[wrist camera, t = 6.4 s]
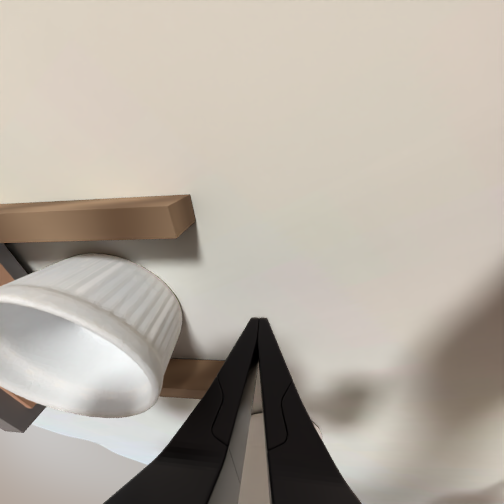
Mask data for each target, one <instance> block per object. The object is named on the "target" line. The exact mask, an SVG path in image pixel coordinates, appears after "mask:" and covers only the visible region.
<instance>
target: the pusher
mask: <svg viewBox="0 0 504 504" xmlns="http://www.w3.org/2000/svg"><path fill="white" fill-rule="evenodd" d="M26 275H28V274H27V273H26V272H25V270H24V269H23V268H22V267H21V265H20V264H19V263H18V261H17V260H16V259H15V258H14V256H13V255H12V254H11V253H10V251H9V250H8V249H7V247H6V246H5V245H4V244H3V243H0V286H2V285H5V284H7V283H9V282H12V281H14V280H17V279H19V278H21V277H24V276H26ZM45 408H46V406H44V405H41V404H38V403H35V402H33V401H30V400H27V399H25V398H23V397H20V396H19V395H16V394H14V393H12V392H10V391H8V390H6V389H5V388H3V387H1V386H0V428H1V429H3V430H4V431H11V432H21V433H24V432H25V430H26V429H27V428H28V427H29V426H30V425H31V424H32V422H33V421H34V420H35V419H36V418H37V417H38V416H39V414H40V413H41V412H42V411H43V410H44V409H45Z"/></svg>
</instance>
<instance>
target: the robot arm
mask: <svg viewBox="0 0 504 504" xmlns="http://www.w3.org/2000/svg"><path fill="white" fill-rule="evenodd" d="M258 363H259V371H260V384H261V397H262V410H263V423H264V436H265V449H266V462H267V475H268V487H269V501H270V504H362V503H361V502H360V501H359V499H358V498H357V497H356V495H355V494H354V493H353V491H352V490H351V488H350V487H349V486H348V484H347V483H346V481H345V480H344V478H343V477H342V475H341V473H340V472H339V470H338V468H337V467H336V465H335V463H334V462H333V460H332V458H331V456H330V454H329V452H328V451H327V449H326V447H325V445H324V443H323V441H322V439H321V438H320V436H319V434H318V432H317V430H316V428H315V426H314V425H313V423H312V421H311V419H310V417H309V415H308V413H307V411H306V409H305V407H304V405H303V403H302V401H301V398H300V396H299V394H298V392H297V389H296V387H295V384H294V382H293V380H292V377H291V375H290V373H289V370H288V368H287V365H286V363H285V360H284V358H283V356H282V353H281V351H280V348H279V346H278V343H277V341H276V339H275V336H274V334H273V331H272V329H271V326H270V324H269V322H268V319H267V318H260V319H259V318H251V319H250V321H249V323H248V324H247V326H246V328H245V329H244V331H243V333H242V334H241V336H240V337H239V339H238V341H237V342H236V344H235V346H234V347H233V349H232V351H231V352H230V354H229V356H228V357H227V359H226V361H225V362H224V364H223V366H222V367H221V369H220V371H219V372H218V374H217V377H215V379H214V380H213V382H212V384H211V385H210V387H209V388H208V390H207V392H206V393H205V395H204V396H203V398H202V399H201V401H200V402H199V403H198V405H197V406H196V408H195V409H194V410H193V412H192V413H191V414H190V416H189V417H188V418H187V420H186V421H185V422H184V424H183V425H182V426H181V428H180V429H179V430H178V432H177V433H176V434H175V436H174V437H173V438H172V440H171V441H170V442H169V444H168V445H167V446H166V447H165V449H164V450H163V451H162V452H161V453H160V454H159V455H158V456H157V457H156V458H155V459H154V460H153V461H152V462H151V463H150V464H149V465H148V466H147V467H145V468H144V469H143V470H142V471H141V472H140V473H138V474H137V475H136V476H135V477H134V478H133V479H131V480H130V481H129V482H128V483H127V484H125V485H124V486H123V487H122V488H121V489H120V490H119V491H117V492H116V493H115V494H114V495H113V496H112V497H110V498H109V499H108V500H107V501H106V502H104V503H103V504H238V500H239V493H240V485H241V479H242V473H243V466H244V459H245V452H246V446H247V439H248V432H249V425H250V418H251V412H252V405H253V398H254V391H255V384H256V378H257V371H258Z"/></svg>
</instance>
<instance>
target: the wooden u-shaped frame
mask: <svg viewBox="0 0 504 504" xmlns="http://www.w3.org/2000/svg"><path fill="white" fill-rule="evenodd" d="M195 221H196V220H195V216H194V211H193V207H192V202H191V197H190V195H172V196H152V197H133V198H113V199H94V200H74V201H55V202H35V203H16V204H0V243H21V242H58V241H96V240H133V239H170V238H178V237H179V236H180V235H181V234H182V233H183V232H184V231H185V230H186V229H187V228H188V227H190V226H191V225H192V224H193V223H194V222H195ZM224 362H225V361H216V360H192V359H170V361H169V363H168V366H167V368H166V371H165V374H164V376H163V377H164V378H163V384H162V389H161V392H160V395H159V396H162V397H177V398H193V399H202V398H203V396H204V395H205V393H206V392H207V390H208V388H209V387H210V385H211V384H212V382H213V380H214V379H215V377H217V374H218V372H219V371H220V369H221V367H222V366H223V364H224Z"/></svg>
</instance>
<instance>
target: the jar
mask: <svg viewBox="0 0 504 504" xmlns="http://www.w3.org/2000/svg"><path fill="white" fill-rule="evenodd" d="M313 425H314V426H315V428H316V430H317V432H318V434H319V436H320V438H321V439H322V433H321V431H320V429H319V428H318V427H317V426H316V425H315V424H314V423H313ZM238 504H270V501H269V487H268V475H267V462H266V449H265V436H264V423H263V413H259V414H254V415H251V418H250V425H249V432H248V439H247V446H246V452H245V459H244V466H243V473H242V479H241V485H240V493H239V500H238Z"/></svg>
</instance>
